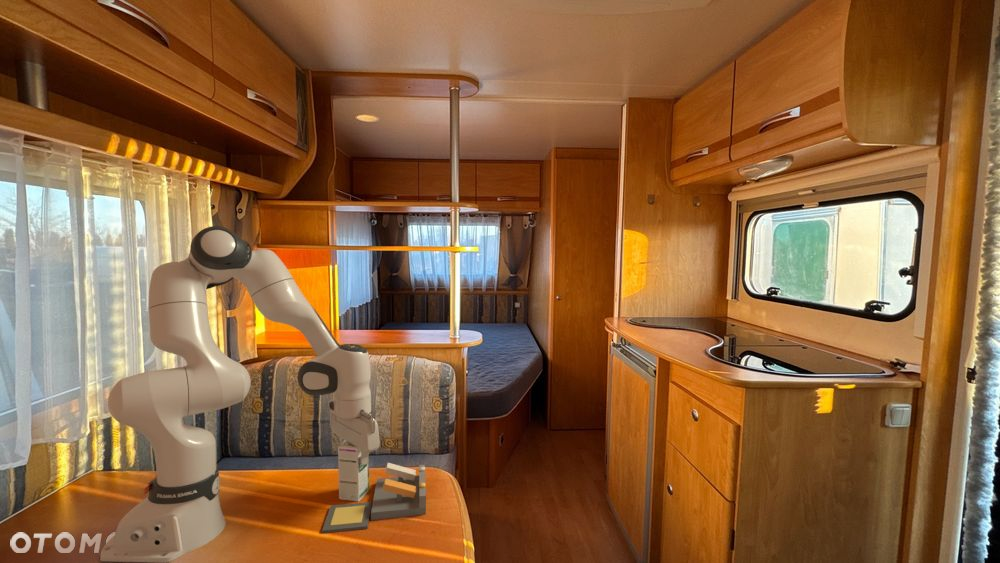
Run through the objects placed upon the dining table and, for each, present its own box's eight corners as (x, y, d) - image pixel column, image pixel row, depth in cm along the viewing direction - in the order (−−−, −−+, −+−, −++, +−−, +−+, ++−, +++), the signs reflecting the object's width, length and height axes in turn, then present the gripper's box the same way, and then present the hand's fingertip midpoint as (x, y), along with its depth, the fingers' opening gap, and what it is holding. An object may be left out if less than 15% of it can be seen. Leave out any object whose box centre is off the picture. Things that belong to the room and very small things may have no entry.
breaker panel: (371, 520, 104) (370, 498, 104) (377, 485, 120) (377, 466, 120) (425, 515, 107) (426, 493, 107) (424, 481, 123) (424, 462, 122)
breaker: (385, 473, 116) (387, 467, 116) (385, 468, 119) (387, 462, 119) (413, 480, 118) (415, 475, 118) (413, 475, 120) (415, 470, 120)
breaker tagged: (382, 490, 108) (384, 484, 108) (383, 484, 110) (385, 478, 110) (413, 498, 109) (415, 492, 109) (413, 492, 112) (415, 486, 112)
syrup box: (358, 502, 112) (358, 447, 111) (337, 499, 113) (337, 445, 112) (369, 491, 117) (369, 438, 116) (349, 488, 119) (349, 436, 118)
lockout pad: (322, 533, 100) (322, 529, 100) (330, 507, 109) (330, 505, 109) (367, 528, 101) (367, 525, 101) (371, 504, 111) (371, 501, 111)
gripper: (385, 412, 109) (386, 466, 110) (346, 395, 124) (347, 443, 124) (362, 419, 105) (363, 475, 106) (325, 400, 119) (326, 450, 120)
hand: (354, 457), depth 115 cm, fingers open, 8 cm apart
